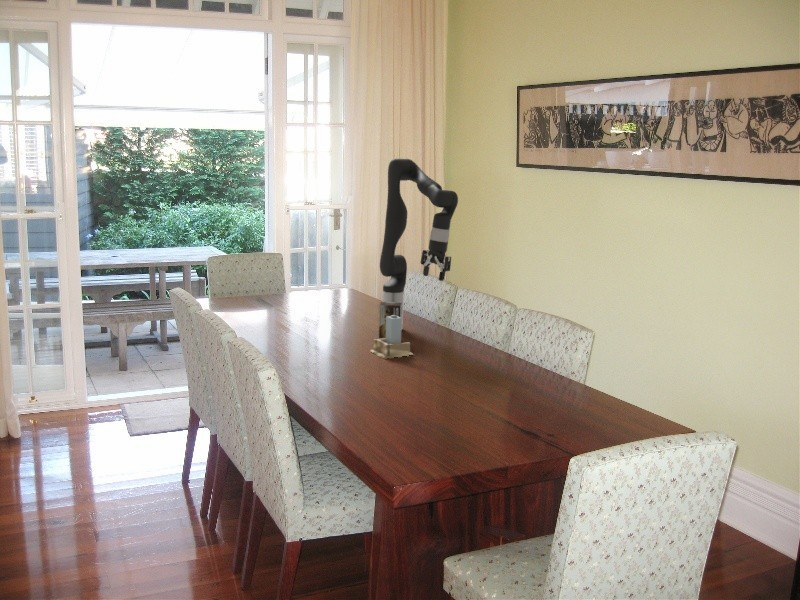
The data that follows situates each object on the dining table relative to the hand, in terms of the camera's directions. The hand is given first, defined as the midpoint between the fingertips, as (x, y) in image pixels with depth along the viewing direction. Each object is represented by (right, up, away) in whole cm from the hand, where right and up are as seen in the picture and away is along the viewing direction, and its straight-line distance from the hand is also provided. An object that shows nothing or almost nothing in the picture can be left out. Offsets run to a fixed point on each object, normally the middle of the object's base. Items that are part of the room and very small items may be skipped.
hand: (433, 278), depth 361 cm
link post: (-16, -29, -11) cm, 35 cm away
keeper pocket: (-17, -30, -11) cm, 36 cm away
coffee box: (-18, -26, +10) cm, 33 cm away
